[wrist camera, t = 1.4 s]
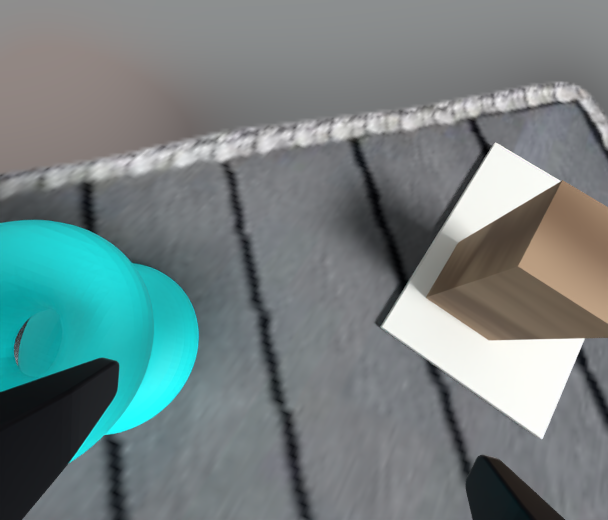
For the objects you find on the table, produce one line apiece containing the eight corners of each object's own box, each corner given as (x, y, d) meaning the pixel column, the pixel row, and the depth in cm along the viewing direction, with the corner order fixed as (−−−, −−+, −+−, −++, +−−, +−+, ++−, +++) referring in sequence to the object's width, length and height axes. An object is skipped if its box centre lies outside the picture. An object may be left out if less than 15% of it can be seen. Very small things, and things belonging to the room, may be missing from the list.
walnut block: (488, 340, 21) (629, 337, 13) (425, 297, 22) (518, 266, 13) (518, 281, 22) (665, 241, 14) (458, 242, 23) (562, 180, 14)
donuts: (180, 258, 12) (35, 562, 9) (227, 296, 22) (162, 451, 19) (-56, 174, 12) (-261, 444, 10) (94, 249, 22) (12, 395, 19)
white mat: (536, 436, 20) (542, 438, 20) (380, 327, 22) (382, 327, 21) (626, 226, 25) (632, 224, 24) (491, 146, 26) (495, 142, 25)
